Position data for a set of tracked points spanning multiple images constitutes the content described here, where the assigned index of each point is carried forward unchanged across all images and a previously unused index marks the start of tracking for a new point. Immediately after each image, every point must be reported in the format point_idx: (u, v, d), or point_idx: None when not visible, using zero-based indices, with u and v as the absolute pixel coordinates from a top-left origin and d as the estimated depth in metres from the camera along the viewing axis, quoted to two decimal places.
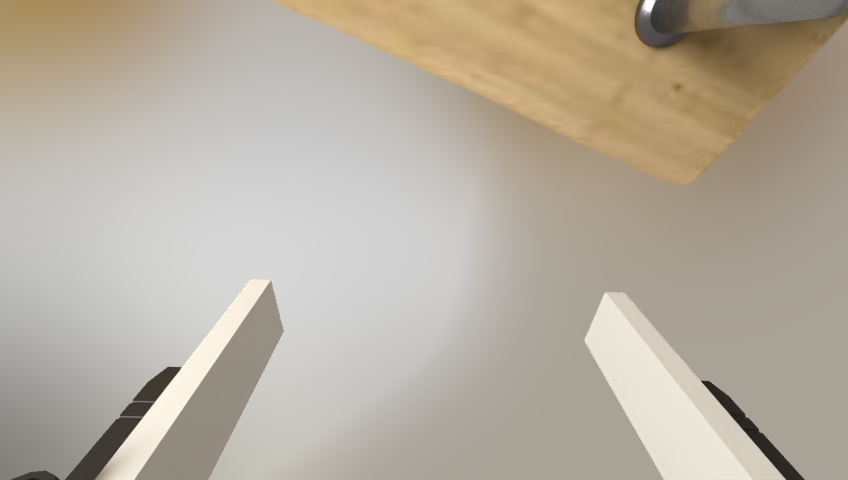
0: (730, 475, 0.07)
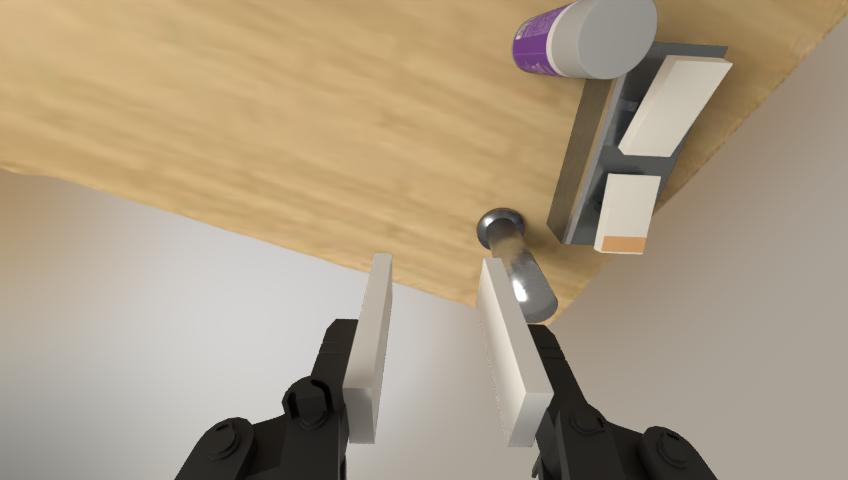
0: (517, 385, 0.09)
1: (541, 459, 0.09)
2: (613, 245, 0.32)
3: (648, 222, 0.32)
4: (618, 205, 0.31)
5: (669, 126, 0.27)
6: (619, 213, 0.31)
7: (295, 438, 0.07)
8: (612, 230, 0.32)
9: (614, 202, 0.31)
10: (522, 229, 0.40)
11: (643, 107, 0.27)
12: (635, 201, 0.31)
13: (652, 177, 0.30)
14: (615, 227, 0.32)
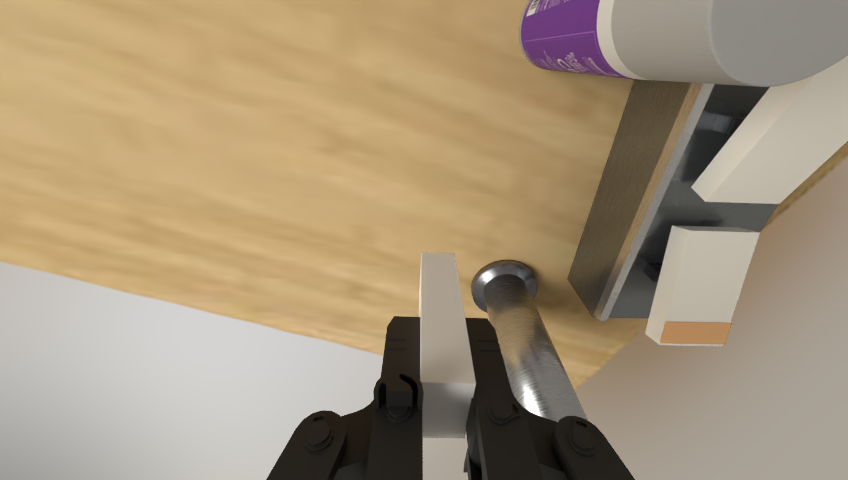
0: None
1: (468, 454, 0.09)
2: (678, 334, 0.21)
3: (735, 300, 0.20)
4: (689, 277, 0.20)
5: (792, 158, 0.16)
6: (690, 288, 0.20)
7: (382, 427, 0.07)
8: (678, 313, 0.21)
9: (683, 272, 0.20)
10: (534, 288, 0.29)
11: (750, 127, 0.16)
12: (716, 270, 0.20)
13: (746, 233, 0.19)
14: (683, 308, 0.20)
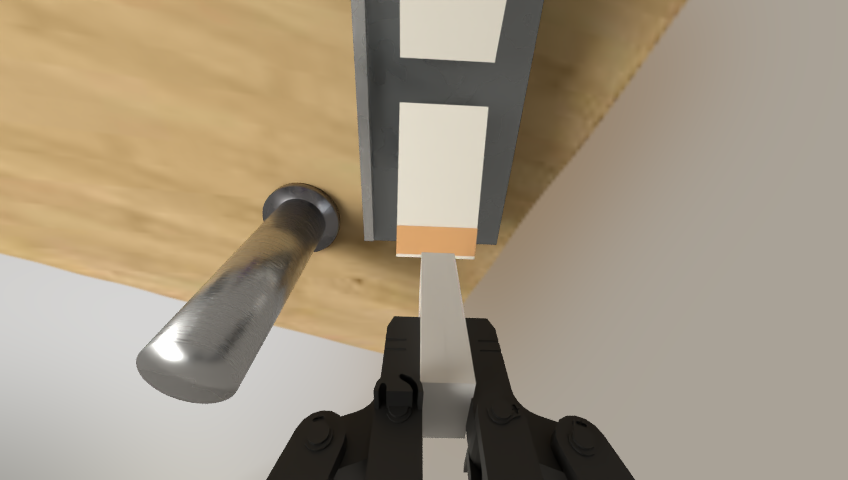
0: None
1: (468, 454, 0.09)
2: (417, 243, 0.17)
3: (477, 199, 0.17)
4: (413, 165, 0.16)
5: None
6: (418, 181, 0.16)
7: (382, 427, 0.07)
8: (410, 214, 0.17)
9: (405, 159, 0.16)
10: (333, 217, 0.25)
11: None
12: (445, 157, 0.16)
13: (471, 108, 0.15)
14: (415, 208, 0.17)
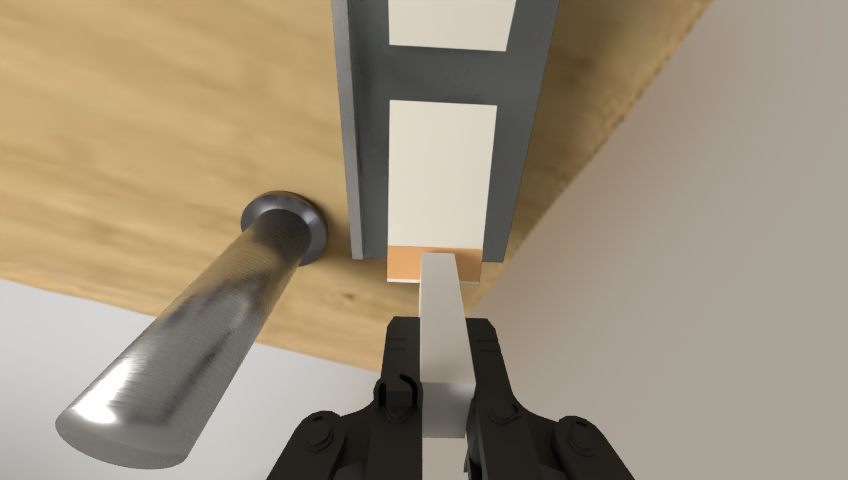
0: None
1: (468, 454, 0.09)
2: (412, 266, 0.15)
3: (482, 215, 0.14)
4: (407, 176, 0.14)
5: None
6: (413, 194, 0.14)
7: (382, 427, 0.07)
8: (404, 233, 0.14)
9: (396, 169, 0.13)
10: (320, 229, 0.23)
11: None
12: (445, 166, 0.13)
13: (476, 107, 0.13)
14: (409, 226, 0.14)
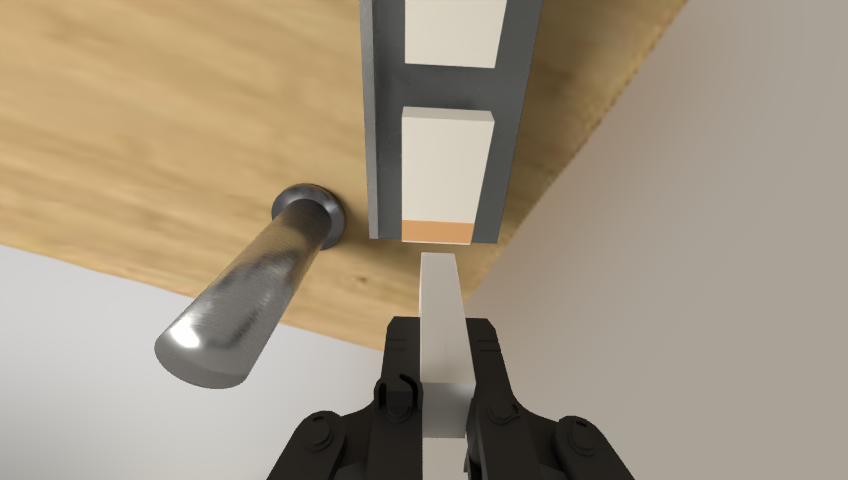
0: None
1: (468, 454, 0.09)
2: (420, 232, 0.20)
3: (476, 201, 0.18)
4: (416, 174, 0.17)
5: None
6: (421, 187, 0.17)
7: (382, 427, 0.07)
8: (414, 212, 0.18)
9: (408, 169, 0.17)
10: (339, 217, 0.26)
11: None
12: (448, 167, 0.16)
13: (476, 123, 0.15)
14: (418, 208, 0.18)
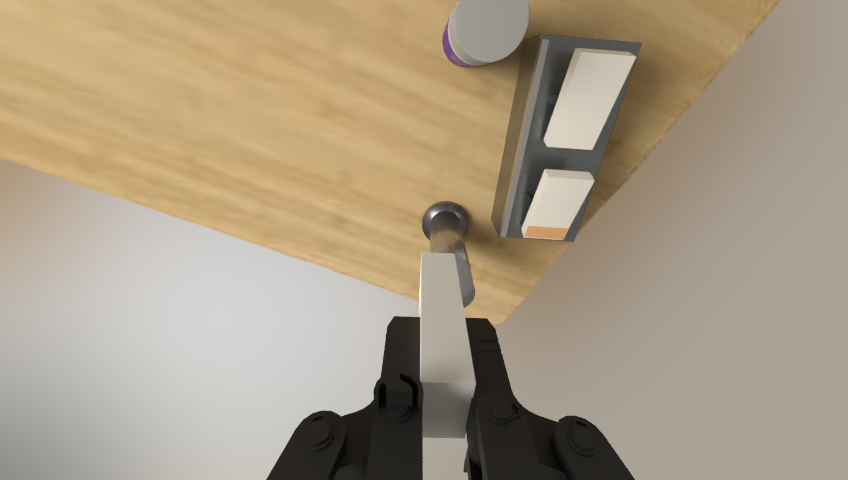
0: None
1: (468, 454, 0.09)
2: (536, 232, 0.34)
3: (573, 217, 0.33)
4: (545, 203, 0.31)
5: (586, 118, 0.28)
6: (545, 209, 0.32)
7: (382, 427, 0.07)
8: (537, 221, 0.33)
9: (542, 200, 0.31)
10: (466, 223, 0.41)
11: (559, 99, 0.28)
12: (563, 200, 0.31)
13: (585, 180, 0.29)
14: (540, 219, 0.33)
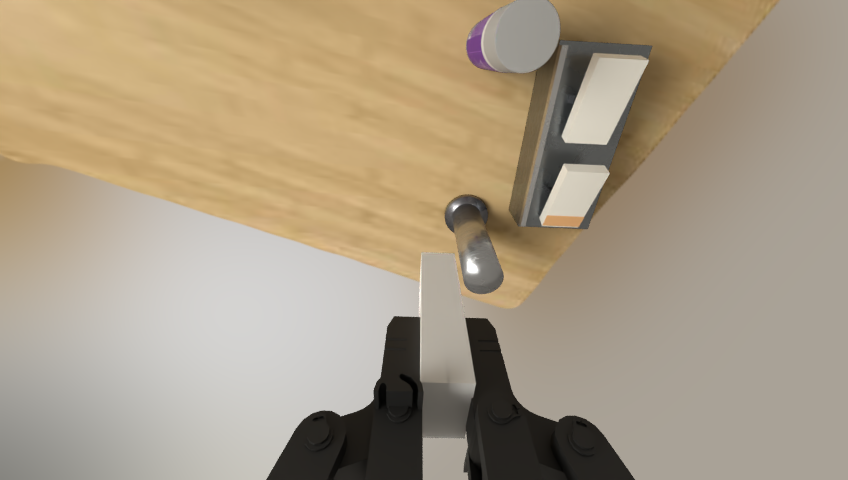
0: None
1: (468, 454, 0.09)
2: (553, 221, 0.37)
3: (588, 206, 0.36)
4: (564, 194, 0.34)
5: (602, 116, 0.31)
6: (563, 200, 0.35)
7: (382, 427, 0.07)
8: (555, 211, 0.36)
9: (561, 192, 0.34)
10: (486, 214, 0.44)
11: (578, 99, 0.30)
12: (580, 191, 0.34)
13: (601, 173, 0.32)
14: (558, 209, 0.36)
